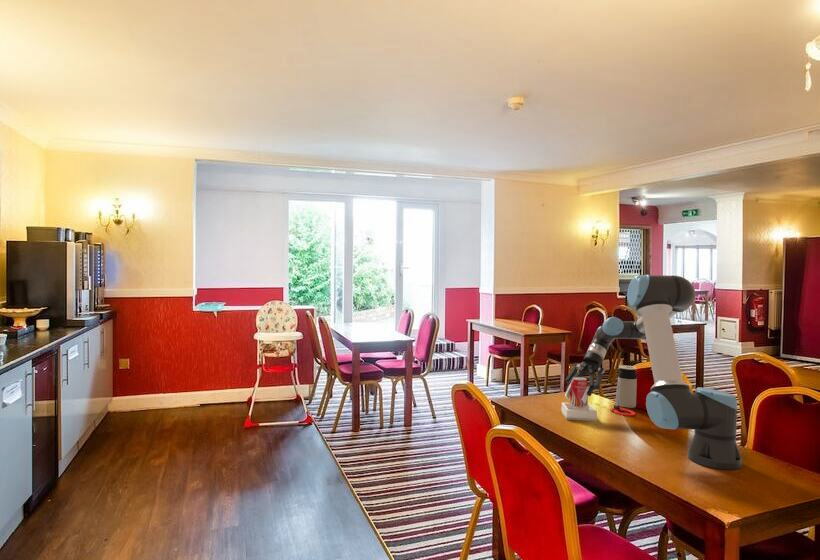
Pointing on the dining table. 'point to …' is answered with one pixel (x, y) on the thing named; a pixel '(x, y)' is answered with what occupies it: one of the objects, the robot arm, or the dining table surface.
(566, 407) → the open white tray
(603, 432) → the dining table surface
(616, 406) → the tow hook
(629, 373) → the travel mug
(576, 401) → the soda can
